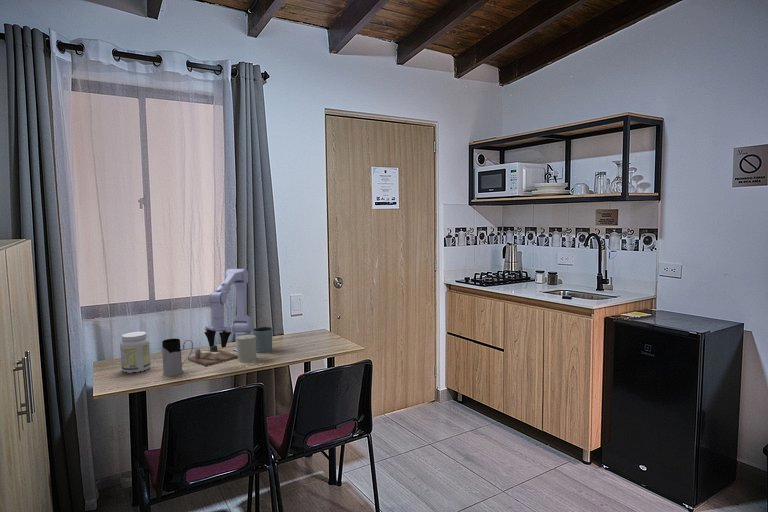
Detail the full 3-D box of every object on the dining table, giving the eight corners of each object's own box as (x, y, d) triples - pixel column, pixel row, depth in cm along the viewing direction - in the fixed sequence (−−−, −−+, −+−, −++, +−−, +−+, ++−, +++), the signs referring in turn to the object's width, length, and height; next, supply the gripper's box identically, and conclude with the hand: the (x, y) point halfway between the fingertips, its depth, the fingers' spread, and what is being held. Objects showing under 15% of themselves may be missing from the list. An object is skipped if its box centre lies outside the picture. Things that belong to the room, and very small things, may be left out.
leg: (200, 358, 243) (200, 352, 242) (203, 356, 244) (202, 351, 244) (216, 359, 239) (216, 353, 239) (219, 358, 241) (218, 352, 241)
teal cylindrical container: (276, 348, 262) (275, 326, 261) (269, 354, 252) (268, 331, 251) (257, 348, 263) (256, 326, 262) (250, 353, 253) (249, 331, 252)
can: (237, 363, 237) (236, 338, 236) (237, 358, 246) (236, 334, 245) (257, 361, 240) (256, 337, 239) (256, 356, 248) (255, 333, 247)
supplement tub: (143, 363, 239) (141, 329, 238) (155, 368, 231) (153, 333, 230) (117, 370, 230) (114, 334, 228) (128, 375, 222) (126, 338, 220)
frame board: (220, 351, 258) (220, 342, 257) (238, 357, 247) (238, 347, 246) (187, 360, 244) (187, 349, 244) (205, 366, 233) (205, 355, 233)
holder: (159, 372, 225) (157, 340, 223) (190, 365, 235) (188, 335, 233) (166, 377, 218) (164, 344, 217) (198, 369, 228) (196, 338, 227)
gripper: (199, 317, 230) (199, 346, 230) (222, 319, 223) (222, 349, 223) (211, 316, 236) (211, 344, 236) (234, 317, 230) (234, 346, 229)
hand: (217, 346), depth 230 cm, fingers open, 7 cm apart
